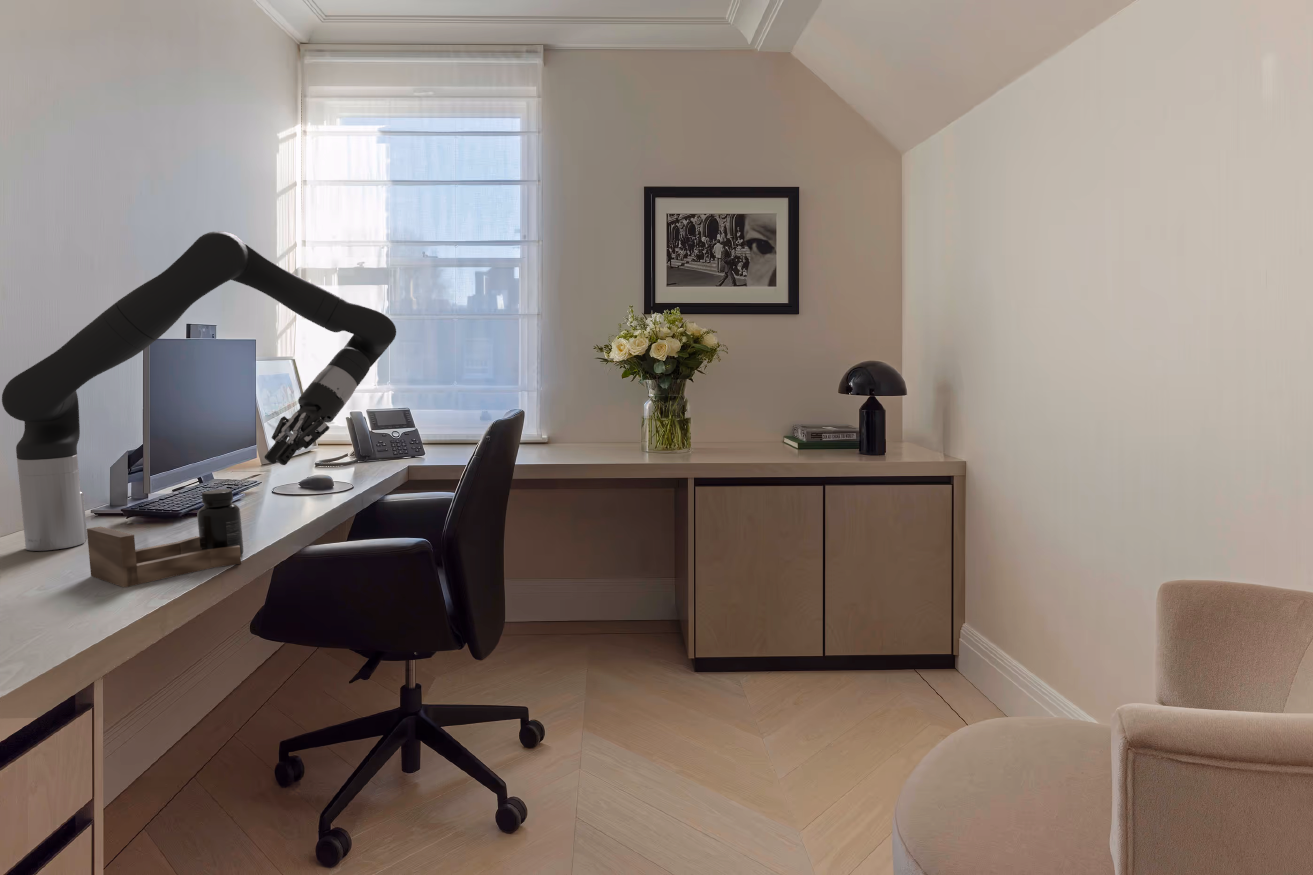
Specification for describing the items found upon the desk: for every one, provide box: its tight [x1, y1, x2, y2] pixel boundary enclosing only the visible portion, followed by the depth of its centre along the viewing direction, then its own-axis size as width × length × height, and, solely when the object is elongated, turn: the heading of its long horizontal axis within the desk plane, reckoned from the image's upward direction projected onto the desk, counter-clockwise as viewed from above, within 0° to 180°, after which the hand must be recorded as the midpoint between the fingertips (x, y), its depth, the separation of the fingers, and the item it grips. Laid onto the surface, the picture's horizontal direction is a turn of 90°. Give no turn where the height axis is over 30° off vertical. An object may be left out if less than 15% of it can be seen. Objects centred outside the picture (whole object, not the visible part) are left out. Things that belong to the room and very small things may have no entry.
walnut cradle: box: [86, 526, 242, 588], centre depth 139 cm, size 18×15×8 cm
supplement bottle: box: [196, 488, 244, 556], centre depth 146 cm, size 7×7×12 cm
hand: (274, 461), depth 154 cm, fingers open, 3 cm apart
